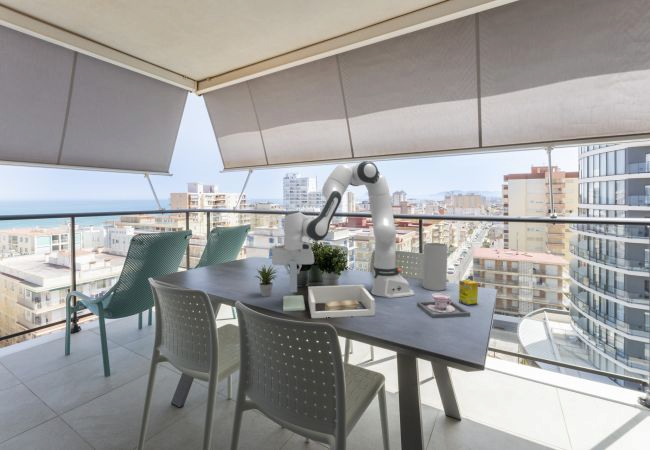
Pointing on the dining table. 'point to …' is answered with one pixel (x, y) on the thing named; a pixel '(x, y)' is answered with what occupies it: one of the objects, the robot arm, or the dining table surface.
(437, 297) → the teacup
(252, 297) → the dining table surface
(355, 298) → the white open bin
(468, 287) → the supplement box
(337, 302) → the offcut stack
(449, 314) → the coaster tray
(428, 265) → the cylinder vase
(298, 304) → the sage board
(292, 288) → the light grey square panel
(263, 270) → the house plant
